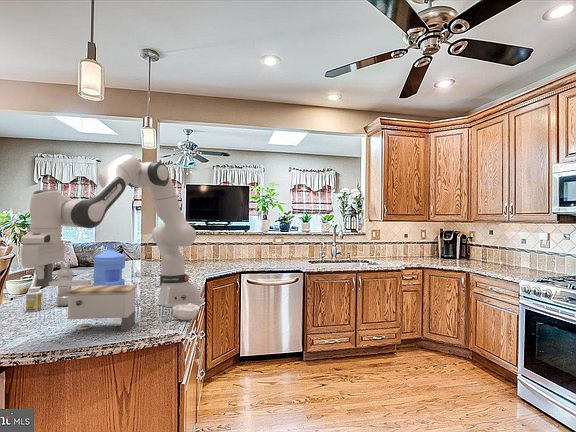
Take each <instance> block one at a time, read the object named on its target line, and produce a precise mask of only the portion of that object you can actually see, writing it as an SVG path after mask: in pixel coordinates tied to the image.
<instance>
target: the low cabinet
mask: <svg viewBox="0 0 576 432" xmlns="http://www.w3.org/2000/svg"><path fill="white" fill-rule="evenodd" d="M137 288H138V285H137V284H126V285H106V286H93V285H77V286H76V287H74V288H71V290H69V291H66V294H68V305H67V320H91V319H92V320H93V319H95V320H96V319H120V318H121V325H120V327H121V329H120V330H121V332H128V331H129V330H130V329H131V328H132V327H133V326H134V324H135V318H136V317H135V316H136V315H135V313H136V312H135V311H136V289H137Z"/></svg>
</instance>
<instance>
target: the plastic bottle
mask: <svg viewBox="0 0 576 432" xmlns="http://www.w3.org/2000/svg"><path fill="white" fill-rule="evenodd" d="M73 276H74V273H73V271H72V269H71V262H62V263H60V269H59V270H58V272H57V273H56V279H57V280H56V281H70V280H73V278H74V277H73ZM71 289H72V286H57V294H56V300H55V301H56V306H59V307H60V306H61V307H66V306H67V307H68V294H66V291H69V290H71Z"/></svg>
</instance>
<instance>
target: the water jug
mask: <svg viewBox="0 0 576 432" xmlns="http://www.w3.org/2000/svg"><path fill="white" fill-rule="evenodd" d="M125 267H126V255H125V254H123V253H121V252H118V251H116V250H114V242H107V245H106V250H105V251H102V252H100V253H98V254H96V255H94V257H93V276H92V277H93V285H92V286H106V285H125V279H123V269H125Z"/></svg>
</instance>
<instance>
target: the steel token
mask: <svg viewBox="0 0 576 432" xmlns="http://www.w3.org/2000/svg"><path fill="white" fill-rule="evenodd" d="M92 325H93V324H92V323H88V322H87V323H81V324H78V325H76V326H75V331H77V332H86V331H90V330H91V329H92V328H93V327H92Z"/></svg>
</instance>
